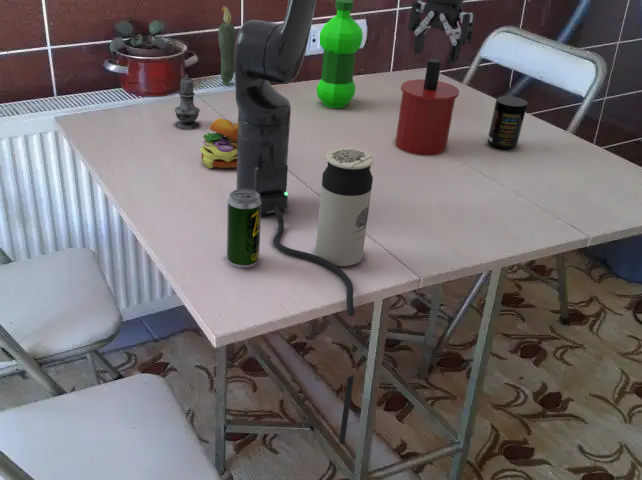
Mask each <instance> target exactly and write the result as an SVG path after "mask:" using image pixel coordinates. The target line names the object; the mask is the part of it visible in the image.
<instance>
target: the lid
mask: <svg viewBox="0 0 642 480" xmlns="http://www.w3.org/2000/svg"><path fill="white" fill-rule="evenodd" d="M441 66H442V60H441V59H438V58H428V60H427V65H426V70H425V77H424V79H423V78H421V79H411V80H407V81H404V82H403V83H402V84H401V85H400V90H401V92H402V93H405V94H407V95H409V96H411V97H414V98H418V99H423V100H431V101H445V100H451V99H454V98H456V99H457V98H458V97H459V95H460V90H459V88H458V87H456V86H455V85H453V84H450V83H448V82H445V81H440V80H439V78H440V73H441V72H440V71H441Z"/></svg>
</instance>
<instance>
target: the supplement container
mask: <svg viewBox="0 0 642 480" xmlns="http://www.w3.org/2000/svg"><path fill="white" fill-rule="evenodd" d="M527 107H528V101H527V100H526V99H524V98H521V97H517V96H511V95H501V96H498V97H496V98H495V104H494V108H493V112H492V117H491V121H490V126H489V131H488V136H487V140H486V141H487V142H486V143H487V145H488V147H490V148H493V149H495V150H498V151H512V150H515V149H516V148H517V146H518V143H519V138H520V136H521V132H522V131H521V130H522V127H523V123H524V119H525V115H526V111H527Z"/></svg>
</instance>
